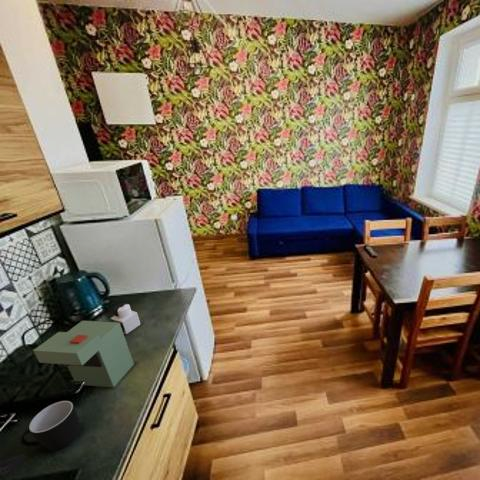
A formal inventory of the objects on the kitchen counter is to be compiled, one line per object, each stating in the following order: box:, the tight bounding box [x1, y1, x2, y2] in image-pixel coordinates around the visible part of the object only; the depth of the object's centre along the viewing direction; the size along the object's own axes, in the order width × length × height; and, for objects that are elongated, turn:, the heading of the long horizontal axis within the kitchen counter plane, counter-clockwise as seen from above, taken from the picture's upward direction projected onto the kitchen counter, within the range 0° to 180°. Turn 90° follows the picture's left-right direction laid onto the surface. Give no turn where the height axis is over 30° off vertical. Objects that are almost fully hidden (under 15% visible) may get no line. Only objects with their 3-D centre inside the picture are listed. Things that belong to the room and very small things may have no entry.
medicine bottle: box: [110, 302, 141, 335], centre depth 118 cm, size 7×7×12 cm
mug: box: [19, 400, 81, 452], centre depth 75 cm, size 12×9×10 cm
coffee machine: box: [32, 320, 135, 388], centre depth 91 cm, size 14×16×23 cm
